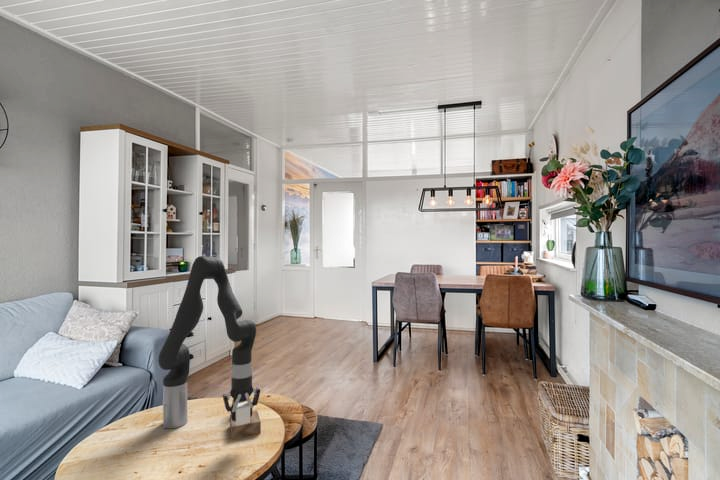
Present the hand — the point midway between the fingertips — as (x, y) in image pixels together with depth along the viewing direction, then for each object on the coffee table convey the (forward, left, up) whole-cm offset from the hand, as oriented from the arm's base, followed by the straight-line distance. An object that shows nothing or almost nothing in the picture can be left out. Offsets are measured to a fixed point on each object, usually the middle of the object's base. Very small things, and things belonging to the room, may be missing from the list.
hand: (241, 418), depth 141 cm
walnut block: (+4, +12, -11) cm, 16 cm away
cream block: (0, 0, -1) cm, 1 cm away
